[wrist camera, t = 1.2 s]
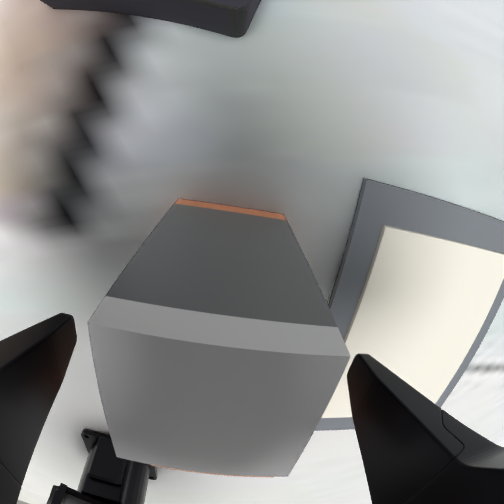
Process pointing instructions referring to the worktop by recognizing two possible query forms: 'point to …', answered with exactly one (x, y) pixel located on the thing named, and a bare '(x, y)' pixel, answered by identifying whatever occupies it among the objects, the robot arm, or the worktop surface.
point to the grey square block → (216, 345)
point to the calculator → (177, 11)
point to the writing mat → (415, 290)
